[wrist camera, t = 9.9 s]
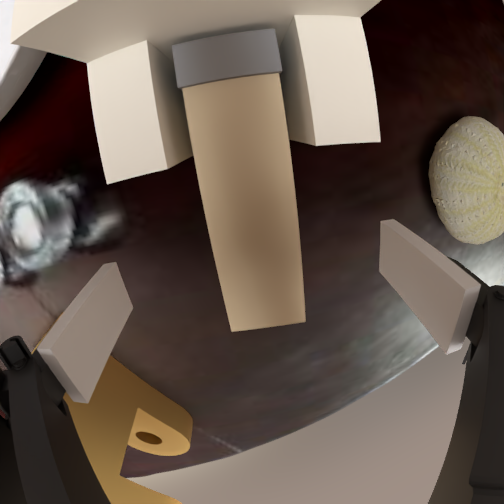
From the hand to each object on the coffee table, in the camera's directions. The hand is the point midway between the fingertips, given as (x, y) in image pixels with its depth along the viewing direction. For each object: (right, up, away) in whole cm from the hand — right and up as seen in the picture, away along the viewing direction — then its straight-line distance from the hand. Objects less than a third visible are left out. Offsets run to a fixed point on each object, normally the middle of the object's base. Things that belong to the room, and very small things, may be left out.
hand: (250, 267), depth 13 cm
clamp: (-15, -14, +13) cm, 24 cm away
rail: (0, +5, +4) cm, 7 cm away
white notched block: (-1, +11, +2) cm, 11 cm away
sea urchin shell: (+17, +4, +6) cm, 19 cm away
